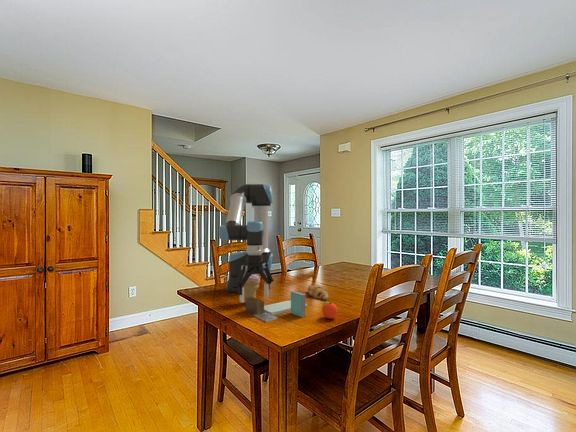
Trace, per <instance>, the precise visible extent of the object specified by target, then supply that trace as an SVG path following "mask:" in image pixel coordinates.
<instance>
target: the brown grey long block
mask: <svg viewBox="0 0 576 432" xmlns="http://www.w3.org/2000/svg"><path fill="white" fill-rule="evenodd" d="M244 304H245V307H244V311H245V312H247V313H249V314H251V315H253V317H254V318H257V319H259V320H261V321H263V322H266V323H268V322H272V321H276V320H278V319H279V318H278V317H277V316H275V315H271V314H268V313H266V312H264V306H265V301H263V300H262V299H259V298H256V297H255V298H254V297H250V298H245V302H244Z"/></svg>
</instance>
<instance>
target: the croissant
mask: <svg viewBox="0 0 576 432" xmlns="http://www.w3.org/2000/svg"><path fill="white" fill-rule="evenodd" d="M307 291H308V295H309V296H310V297H312V298H315V299H319V300H323V301H326V300H328V299H329V293H328V291H327V289H326V288H325V287H324V286H323V285H321V284H318V283H316V284H313V285H312V286H308V290H307Z"/></svg>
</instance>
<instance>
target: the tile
mask: <svg viewBox="0 0 576 432" xmlns="http://www.w3.org/2000/svg"><path fill="white" fill-rule="evenodd" d="M290 300H291V311H290V314H292V315H295V316H298V317H300V318H305V317H306V307H305V303H306V294H305V293H302V292H299V291H295V290H292V291H290Z"/></svg>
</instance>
